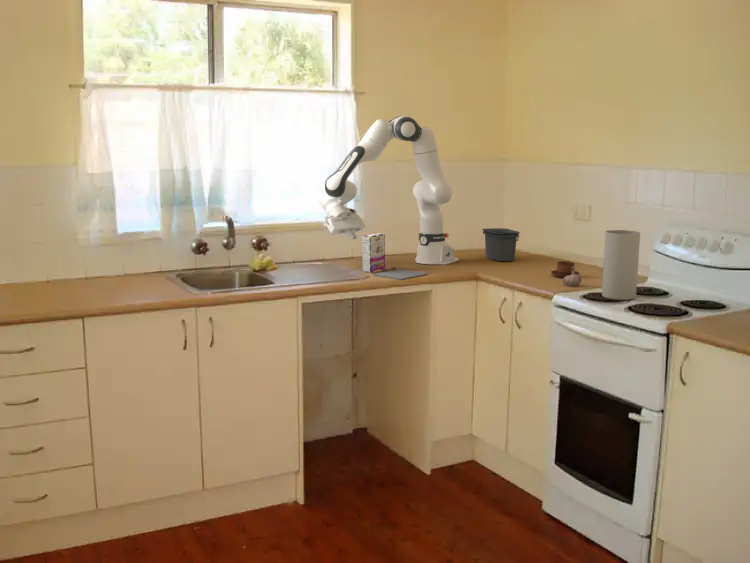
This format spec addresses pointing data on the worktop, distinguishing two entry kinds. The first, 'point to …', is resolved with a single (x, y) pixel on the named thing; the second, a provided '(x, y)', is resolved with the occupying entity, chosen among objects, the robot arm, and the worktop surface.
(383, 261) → the candy bar box
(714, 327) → the worktop surface
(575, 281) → the garlic bulb
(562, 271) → the cup and saucer
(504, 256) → the storage bin
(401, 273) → the rubber mat
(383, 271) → the walnut kerb
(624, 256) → the cylinder vase
